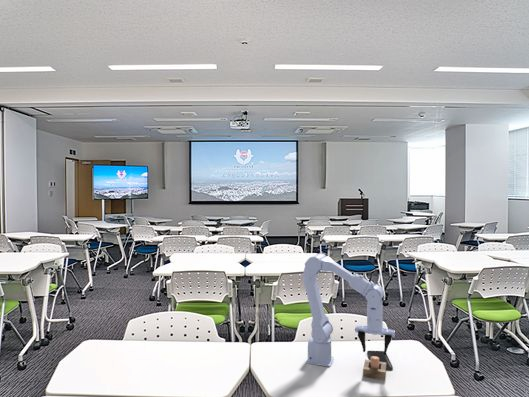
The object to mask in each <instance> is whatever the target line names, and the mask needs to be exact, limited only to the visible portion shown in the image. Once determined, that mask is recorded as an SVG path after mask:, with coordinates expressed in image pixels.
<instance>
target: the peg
mask: <svg viewBox="0 0 529 397" xmlns="http://www.w3.org/2000/svg"><path fill="white" fill-rule="evenodd" d="M371 368H375V369H379V357H376V356H372V357H371Z"/></svg>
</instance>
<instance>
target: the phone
mask: <svg viewBox="0 0 529 397" xmlns="http://www.w3.org/2000/svg"><path fill="white" fill-rule="evenodd" d="M366 353H367V356H368V360H371V357H372V356H376V357H379V362H386V371H393V369H394V367H393V364H392V363H391V360H390V359H389V356H388V355H387V353H386V355H384V350H367V351H366Z"/></svg>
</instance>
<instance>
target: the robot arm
mask: <svg viewBox="0 0 529 397" xmlns="http://www.w3.org/2000/svg"><path fill="white" fill-rule="evenodd" d="M320 272H323V273H324V272H331V273H333V274H334V275H337V276H338V277H340V278H341V279H343V280H344V281H347V282H348V285H349V287H350V288H351V289H353V290H354V291H356V292H358V293H359V294H360V295H362V296H363V297H365V300H366V301H367V302H366V303H367V305H366V315H367V316H366V325H355V328H354V333H357V337H358V339H359V341H360V344H361V347H362V352H363V353H365V352H366V350H367V349H366V348H367V347H366V346H367V345H366V334H371V335H374V336H375V335H376V336H377V335H380V336H384V349H383V351H384V355H386V354H387V352H388V351H387V350H388V347H389V346H390V343H391V342H392V340H393V338H395V336H396V331H395V330H394V329H390V328H389V329H388V328H385V327H383V325H384V324H383V320H384V319H383V318H384V317H383V315H384V312H383V309H384V306H383V298H384V295H385V292H384V289H383V287H382V286H381V285H379V284H378V283H377V284H376V283H375V282H371V281H369V280H367V279H366V278H364V275H362V274H359V273H358V274H357V273H355V274H354V273H353V274H352V273H351V272H350V271H349V270H347V269H346V268H344V267H343V266H341V265H340V264H339V263H338V262H336V261H334V259H332V257H330V256H327V255H326V254H325V253H323V252H319V253H317V254H316V255H314V256H311V257H309V258H308V259H307V260H306V262H305V263H304V269H303V273H302V279H303V283H304V288H305V292H306V296H307V301H308V306H309V309H310V312H311V316H312V317H311V318H312V320H311V325H310V326H311V337H309V338H308V343H307V362H306V363H307V364H309V365H310V364H311V365H317V366H323V367H331V366H332V364H333V361H334V358H335V357H334V356H332V337H331V334H333V331H334V326H333V324H332V323H331V321H330V319H329V317H328V316H327V315H326V313H325V309H324V305H323V301H322V297H321V293H320V288H319V284H318V280H317V277H318V275H319V274H320Z"/></svg>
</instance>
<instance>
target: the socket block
mask: <svg viewBox="0 0 529 397" xmlns="http://www.w3.org/2000/svg"><path fill="white" fill-rule="evenodd" d="M362 376H363V377H364V378H369V379H374V380H381V381H386V379H387V378H386V376H387V370H386V362H379V369H375V368H371V360H369V359H364V364H363V368H362Z"/></svg>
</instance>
